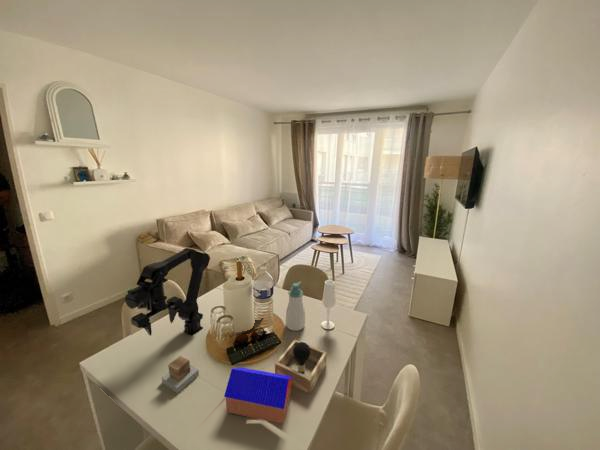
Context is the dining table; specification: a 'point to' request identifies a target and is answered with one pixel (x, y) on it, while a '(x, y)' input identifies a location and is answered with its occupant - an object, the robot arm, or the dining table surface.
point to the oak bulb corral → (299, 378)
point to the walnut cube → (179, 368)
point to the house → (258, 394)
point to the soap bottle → (295, 309)
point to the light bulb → (301, 354)
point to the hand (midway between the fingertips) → (161, 328)
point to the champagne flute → (328, 301)
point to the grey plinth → (181, 384)
